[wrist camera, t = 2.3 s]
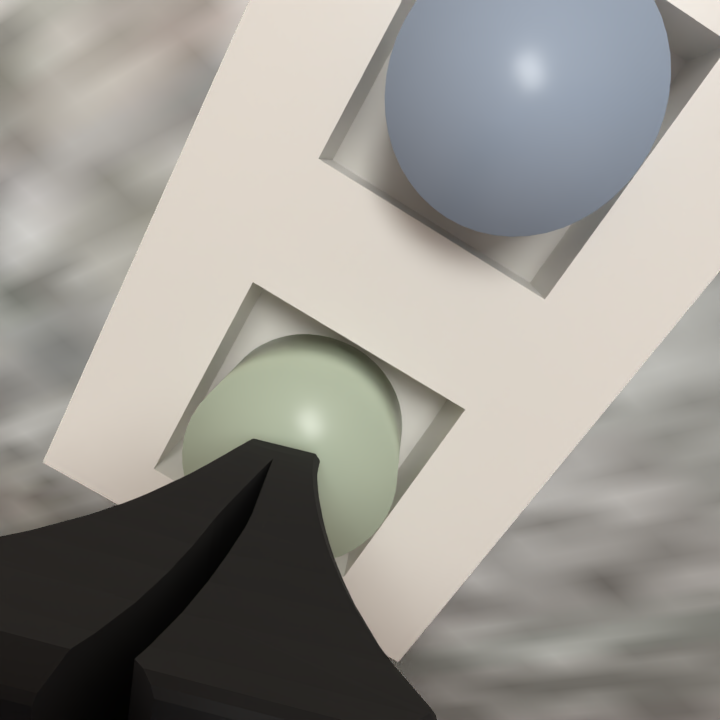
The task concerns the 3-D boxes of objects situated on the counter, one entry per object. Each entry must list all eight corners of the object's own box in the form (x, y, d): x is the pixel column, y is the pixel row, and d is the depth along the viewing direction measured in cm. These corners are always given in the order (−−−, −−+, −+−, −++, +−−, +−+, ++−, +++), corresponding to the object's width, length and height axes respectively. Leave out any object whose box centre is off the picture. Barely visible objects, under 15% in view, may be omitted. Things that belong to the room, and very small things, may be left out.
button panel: (1165, -394, 10) (1435, -602, 7) (402, 587, 17) (398, 662, 15) (670, -779, 9) (769, -1164, 7) (103, 415, 17) (42, 462, 14)
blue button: (672, 62, 11) (734, 35, 9) (532, 263, 12) (554, 285, 10) (474, -69, 11) (485, -133, 8) (353, 152, 12) (335, 148, 10)
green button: (438, 397, 14) (440, 442, 11) (343, 533, 15) (328, 597, 13) (273, 298, 13) (240, 324, 11) (192, 445, 15) (148, 496, 12)
